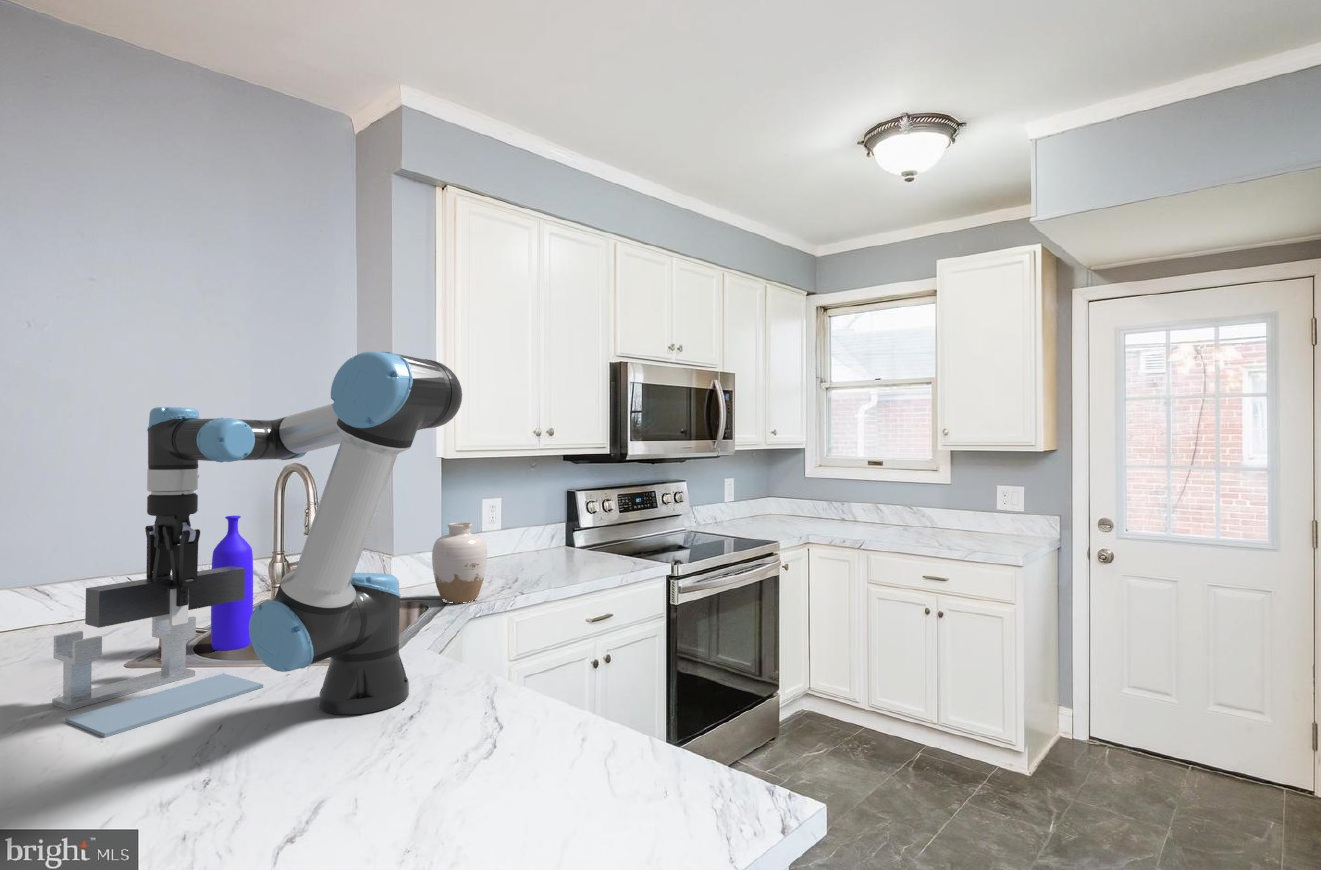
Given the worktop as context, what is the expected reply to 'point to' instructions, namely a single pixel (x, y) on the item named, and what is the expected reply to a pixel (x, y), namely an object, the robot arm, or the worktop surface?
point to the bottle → (233, 616)
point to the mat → (162, 704)
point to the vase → (459, 563)
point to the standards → (79, 671)
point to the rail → (160, 596)
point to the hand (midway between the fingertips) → (170, 621)
